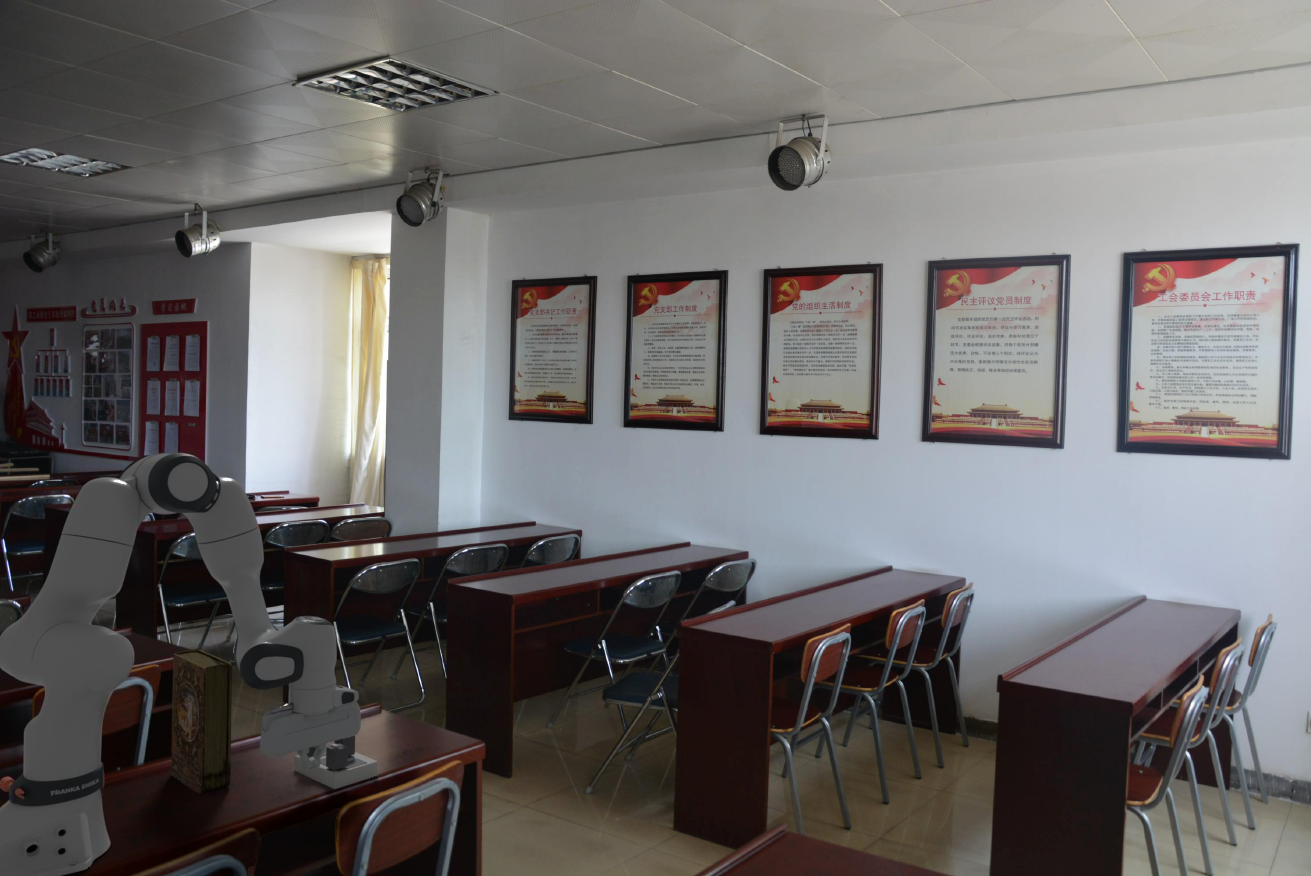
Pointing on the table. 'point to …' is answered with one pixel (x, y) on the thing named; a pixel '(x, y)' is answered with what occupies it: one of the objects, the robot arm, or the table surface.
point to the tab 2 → (336, 756)
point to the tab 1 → (311, 752)
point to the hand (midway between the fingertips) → (311, 767)
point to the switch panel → (340, 771)
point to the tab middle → (348, 744)
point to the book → (201, 720)
